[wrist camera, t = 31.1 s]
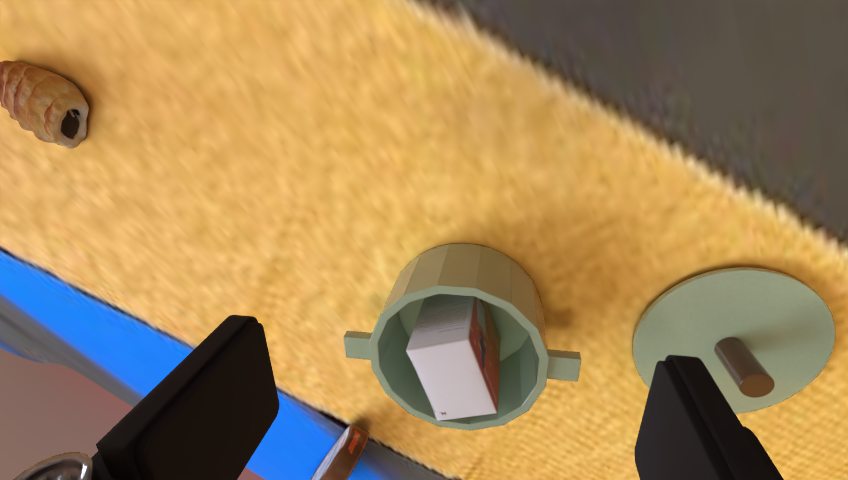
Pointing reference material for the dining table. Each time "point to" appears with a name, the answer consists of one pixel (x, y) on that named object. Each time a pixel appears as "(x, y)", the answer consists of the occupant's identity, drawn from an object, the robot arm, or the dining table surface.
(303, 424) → the dining table surface
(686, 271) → the dining table surface
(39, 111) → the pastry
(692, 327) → the pot lid
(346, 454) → the tin
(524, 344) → the casserole
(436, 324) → the small box
